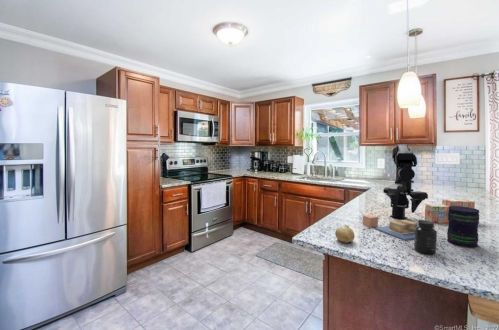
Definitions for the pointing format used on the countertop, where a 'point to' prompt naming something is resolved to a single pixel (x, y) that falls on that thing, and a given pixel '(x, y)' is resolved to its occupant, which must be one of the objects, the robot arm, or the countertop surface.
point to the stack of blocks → (444, 209)
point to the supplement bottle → (425, 238)
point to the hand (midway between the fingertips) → (403, 210)
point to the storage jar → (463, 226)
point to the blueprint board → (401, 236)
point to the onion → (345, 234)
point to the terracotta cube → (370, 220)
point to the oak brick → (402, 226)
